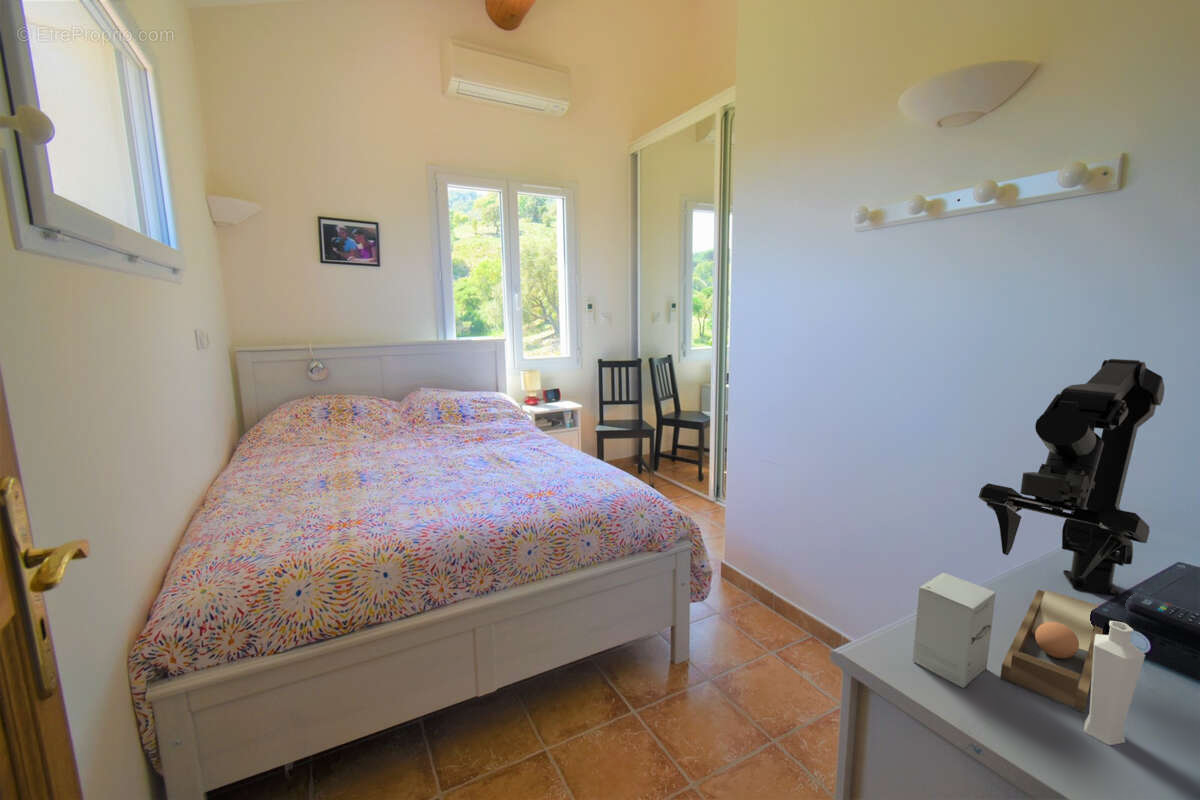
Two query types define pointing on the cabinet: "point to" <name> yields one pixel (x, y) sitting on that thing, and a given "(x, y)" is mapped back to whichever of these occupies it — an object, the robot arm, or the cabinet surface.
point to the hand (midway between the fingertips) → (1041, 565)
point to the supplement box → (953, 628)
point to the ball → (1057, 640)
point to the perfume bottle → (1112, 683)
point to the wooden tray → (1045, 672)
